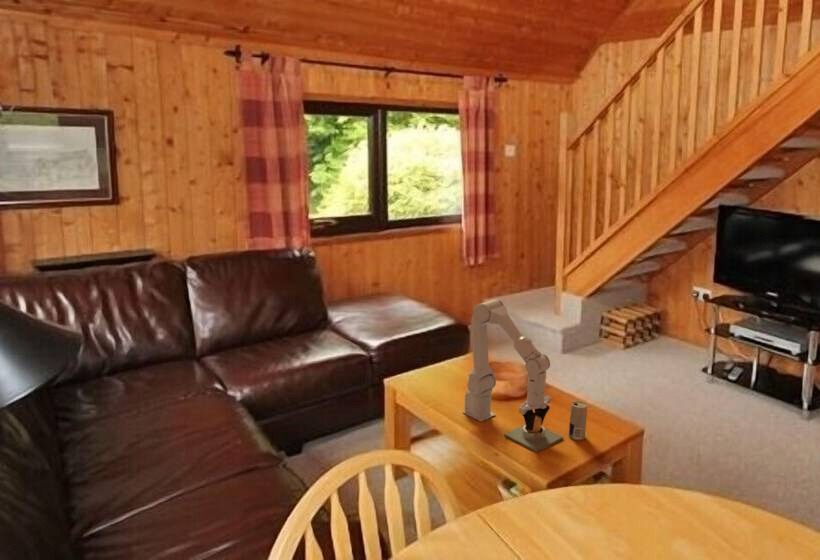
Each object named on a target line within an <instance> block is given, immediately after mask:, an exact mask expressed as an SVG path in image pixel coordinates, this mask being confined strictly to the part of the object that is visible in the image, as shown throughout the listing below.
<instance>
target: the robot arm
mask: <svg viewBox="0 0 820 560" xmlns="http://www.w3.org/2000/svg"><path fill="white" fill-rule="evenodd" d="M472 313H473V314H472V316H471V319H470V323H471V326H470V327H471V342H472V345H471V346H472V358H473V359H472V360H473V361H472V362H473V368H472V369H471V371H470V373H468V380H467V384H466V385H467V389H468V390H467V391H466V392H465V395H464V410H463V411H462V413H463V414H465V415H467V416H469V417H470V418H473V419H475V420H477V421H478V422H483V421H486V420H488V419H490V418H493V417H495V416H496V413H494V412H493V411H491V410H492V409H491V407H492V392H493V388H495V387H496V386H497V380H496V377H495V375H494V370H493V369H492V368H491V367H490V364H489V363H490V359H489V341H488V340H489V339H488V325H489V324H493V325H498V326H499V327H500V328H501V329H502V330H503V332H505V334H506V335H507V336H508V337H509V338H510V339H511V341H513V348H514V350H516V352H517V354H518V355H519V356H520V357H521V359H522V361H524V362H525V365H524V366H525V370H526V372H527V377H528V379H527V393H526V394H527V396H526V400H525V402H523V404H522V405H521V406H519V408H518V413H519V414H521V415H522V416H523V419H524V423H525V424H526V428H527V429H528V430H531V431H532V430H533V426H534V420H535V418H536V415H538V416H540V417H541V426H543V423H544V420H545V418H546V415H547V413H548V412H549V410H550V405H548V404H551V403H552V397H551V396H549V395H546V384H547V383H546V379H547V370H549V368H550V367H551V361H550V358H549V357H548V355H546V354H545V353H542V352H541V351H539V350H538V349H537V348H536V346H535V344H533V343H532V342H533V341H532V340H531V339H530V338H529V337H528V336H524V335H522V333H521V332H520V330H519V329H518V327H517V326H516V325H515V323H514V322H513V320H512V318H511V317H510V316H509V313H508V308H507V307H506V305H505V304H504V302H503V301H502V300H501V299H499V298H494V299H492V300H488V301H485V302H480V303H477V305H475V306H474V307H472Z"/></svg>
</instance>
